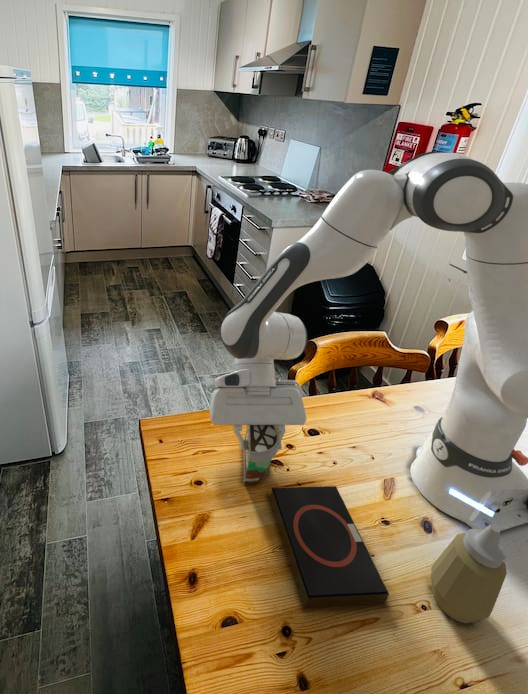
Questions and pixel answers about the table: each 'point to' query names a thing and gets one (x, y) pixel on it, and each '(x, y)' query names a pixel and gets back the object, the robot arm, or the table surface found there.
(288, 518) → the hob
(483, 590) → the squeeze bottle
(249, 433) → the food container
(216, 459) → the table surface
